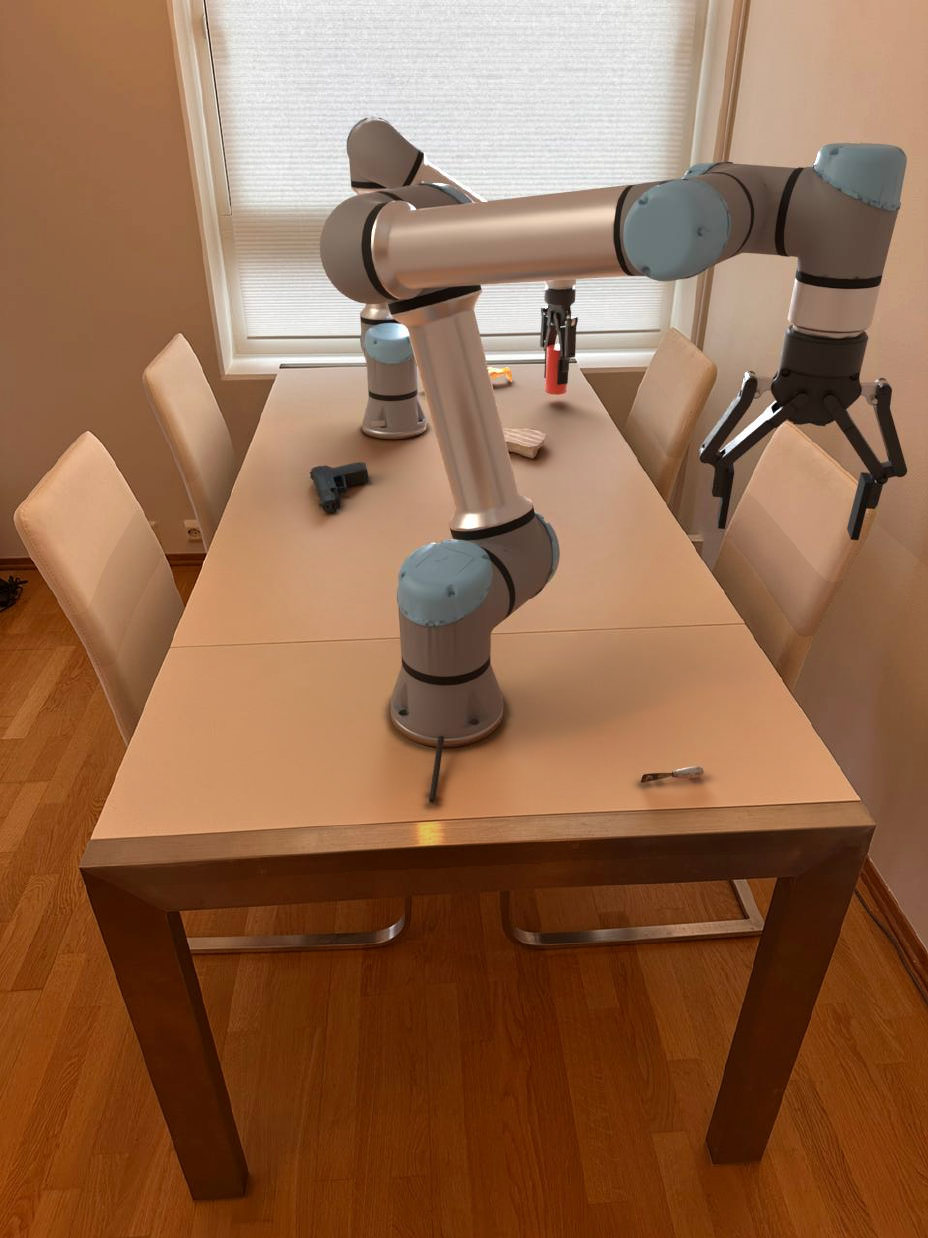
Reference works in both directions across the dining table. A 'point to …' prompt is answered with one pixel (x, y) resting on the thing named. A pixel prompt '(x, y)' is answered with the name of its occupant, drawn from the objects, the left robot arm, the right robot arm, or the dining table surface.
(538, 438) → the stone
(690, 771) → the putty knife
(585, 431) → the dining table surface
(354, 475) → the handgun
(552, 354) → the can
